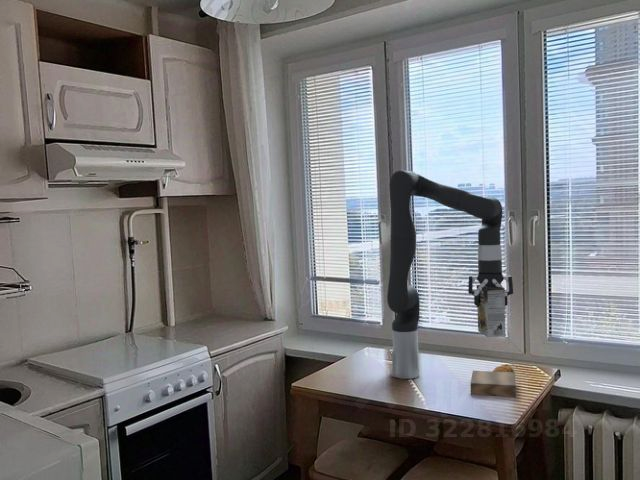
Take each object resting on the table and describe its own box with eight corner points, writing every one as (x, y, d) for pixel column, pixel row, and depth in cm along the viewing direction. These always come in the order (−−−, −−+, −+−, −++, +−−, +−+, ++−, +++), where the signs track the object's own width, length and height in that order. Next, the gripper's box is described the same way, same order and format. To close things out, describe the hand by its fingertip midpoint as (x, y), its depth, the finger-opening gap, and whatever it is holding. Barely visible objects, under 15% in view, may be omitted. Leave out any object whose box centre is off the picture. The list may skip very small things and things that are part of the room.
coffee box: (477, 331, 190) (475, 284, 189) (495, 330, 191) (494, 283, 190) (487, 337, 181) (485, 288, 180) (506, 336, 182) (505, 287, 181)
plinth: (470, 395, 182) (470, 383, 182) (473, 381, 196) (472, 370, 195) (516, 397, 178) (515, 385, 178) (515, 384, 191) (515, 372, 191)
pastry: (504, 382, 194) (503, 371, 194) (486, 378, 199) (486, 368, 199) (516, 375, 201) (516, 365, 201) (499, 372, 206) (498, 362, 206)
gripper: (466, 259, 183) (468, 308, 184) (512, 259, 178) (513, 309, 179) (468, 257, 190) (469, 304, 191) (512, 256, 185) (513, 305, 186)
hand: (491, 306), depth 185 cm, fingers closed on coffee box, 8 cm apart
